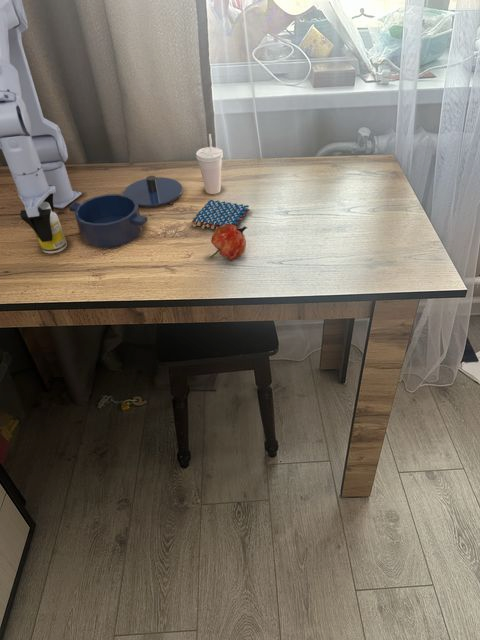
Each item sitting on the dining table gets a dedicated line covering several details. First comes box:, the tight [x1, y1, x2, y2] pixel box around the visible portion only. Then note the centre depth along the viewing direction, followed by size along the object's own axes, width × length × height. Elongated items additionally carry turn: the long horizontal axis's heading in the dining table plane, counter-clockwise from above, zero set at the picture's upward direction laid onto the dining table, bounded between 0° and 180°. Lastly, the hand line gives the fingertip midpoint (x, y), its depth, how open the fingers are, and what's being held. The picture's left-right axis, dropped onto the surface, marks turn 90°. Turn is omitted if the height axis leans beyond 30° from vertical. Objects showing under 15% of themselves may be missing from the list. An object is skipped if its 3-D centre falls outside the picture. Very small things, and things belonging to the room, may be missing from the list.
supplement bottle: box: [34, 202, 68, 254], centre depth 106 cm, size 5×5×10 cm
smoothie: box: [195, 133, 224, 195], centre depth 121 cm, size 6×6×14 cm
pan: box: [68, 193, 148, 248], centre depth 112 cm, size 13×19×6 cm
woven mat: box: [191, 199, 250, 230], centre depth 115 cm, size 10×11×2 cm
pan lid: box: [123, 175, 184, 208], centre depth 124 cm, size 14×14×4 cm
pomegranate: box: [209, 224, 248, 261], centre depth 103 cm, size 7×7×10 cm
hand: (48, 231), depth 107 cm, fingers open, 7 cm apart
